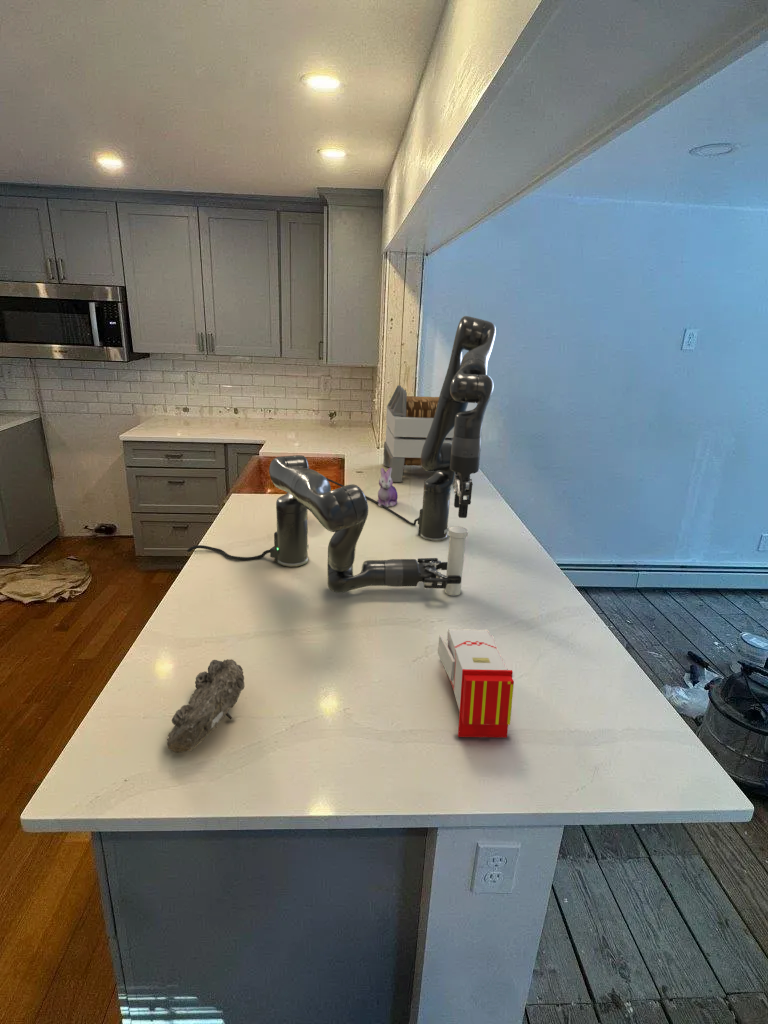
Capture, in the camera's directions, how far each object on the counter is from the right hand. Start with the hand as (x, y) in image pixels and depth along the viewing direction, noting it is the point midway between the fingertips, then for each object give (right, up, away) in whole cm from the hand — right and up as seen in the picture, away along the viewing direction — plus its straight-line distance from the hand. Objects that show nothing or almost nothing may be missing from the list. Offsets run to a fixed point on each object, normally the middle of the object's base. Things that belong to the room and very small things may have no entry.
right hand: (460, 512), depth 152 cm
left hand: (0, -17, +6) cm, 18 cm away
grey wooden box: (-3, +19, +123) cm, 124 cm away
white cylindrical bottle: (-1, -23, +8) cm, 24 cm away
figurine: (-19, +3, +77) cm, 80 cm away
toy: (-3, -38, -34) cm, 51 cm away
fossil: (-53, -39, -44) cm, 79 cm away
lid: (0, -5, +2) cm, 5 cm away
